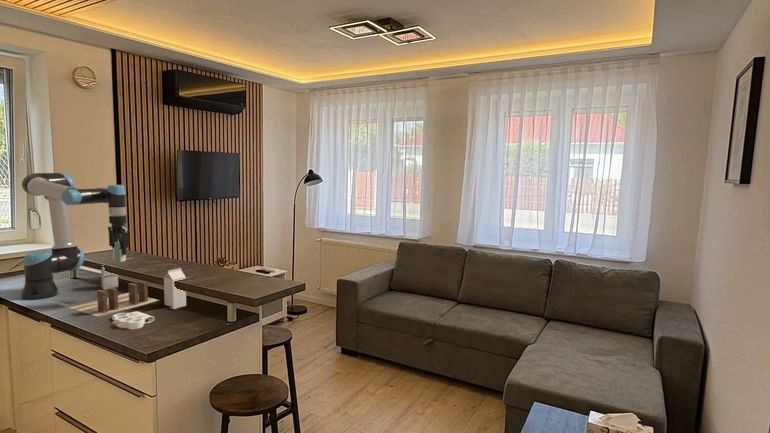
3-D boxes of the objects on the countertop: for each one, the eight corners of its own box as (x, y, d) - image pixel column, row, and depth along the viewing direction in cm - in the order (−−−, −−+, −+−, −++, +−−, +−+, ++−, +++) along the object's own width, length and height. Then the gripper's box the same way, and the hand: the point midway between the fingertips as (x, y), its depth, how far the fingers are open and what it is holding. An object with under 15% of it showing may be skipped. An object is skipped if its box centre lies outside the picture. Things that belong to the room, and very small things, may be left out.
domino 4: (135, 304, 217) (134, 284, 216) (129, 303, 220) (128, 283, 219) (138, 303, 219) (137, 284, 218) (132, 302, 221) (131, 282, 220)
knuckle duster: (158, 323, 197) (125, 333, 185) (136, 315, 207) (103, 324, 195) (158, 316, 197) (125, 325, 185) (136, 308, 207) (103, 317, 194)
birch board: (67, 309, 211) (67, 307, 211) (128, 294, 237) (128, 292, 237) (99, 319, 199) (99, 317, 199) (160, 302, 226) (159, 300, 225)
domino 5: (144, 302, 222) (144, 282, 221) (138, 300, 224) (138, 281, 223) (147, 301, 223) (147, 282, 222) (141, 299, 226) (141, 280, 225)
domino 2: (115, 310, 209) (114, 289, 208) (108, 308, 211) (107, 288, 210) (118, 309, 210) (117, 288, 209) (112, 307, 212) (111, 287, 211)
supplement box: (103, 290, 245) (102, 267, 244) (101, 287, 251) (100, 265, 249) (118, 288, 250) (117, 266, 248) (116, 285, 255) (115, 263, 254)
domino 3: (121, 262, 223) (120, 243, 222) (115, 261, 225) (114, 242, 224) (124, 262, 225) (123, 242, 224) (118, 261, 227) (117, 242, 226)
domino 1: (104, 313, 204) (103, 292, 203) (97, 311, 207) (97, 290, 205) (107, 312, 206) (106, 291, 205) (101, 310, 208) (100, 289, 207)
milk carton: (186, 305, 221) (185, 269, 219) (173, 309, 215) (172, 271, 213) (177, 303, 225) (176, 267, 223) (164, 307, 219) (163, 269, 217)
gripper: (99, 214, 223) (101, 259, 226) (121, 217, 215) (123, 263, 218) (114, 213, 230) (116, 257, 232) (135, 215, 222) (137, 261, 224)
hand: (119, 260), depth 225 cm, fingers closed on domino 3, 5 cm apart
